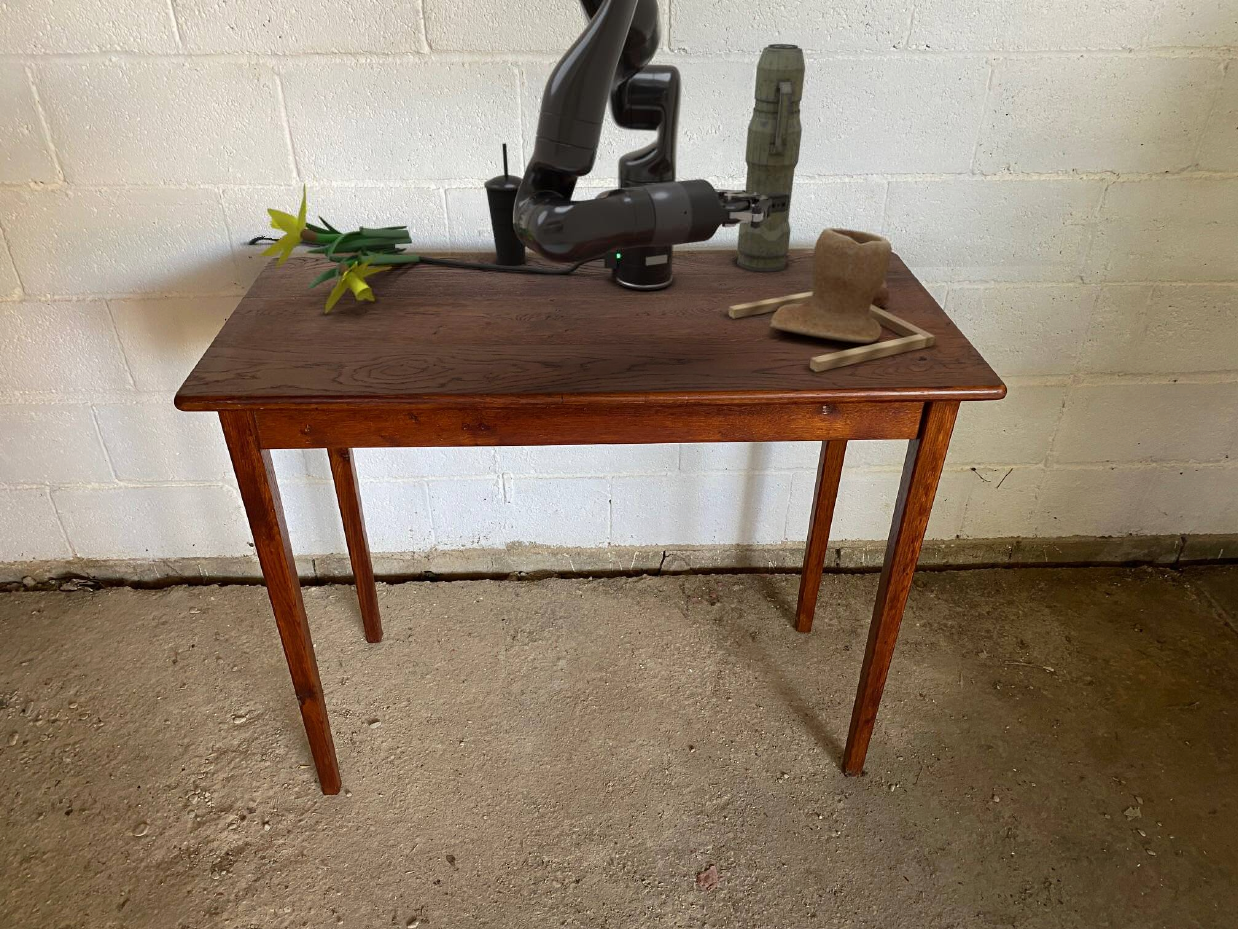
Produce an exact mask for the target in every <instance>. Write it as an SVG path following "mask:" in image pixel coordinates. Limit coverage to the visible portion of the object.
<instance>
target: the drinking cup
mask: <svg viewBox="0 0 1238 929" xmlns="http://www.w3.org/2000/svg"><path fill="white" fill-rule="evenodd" d="M501 145H502V146H501V147H502V162H503V174H501V175H497V176H495V177H492V178H491V179H489V180H486V181H485V182H484V183H483V187H484V188H485V190H486V196H487V204H488V211H489V215H490V221H491V227H492V234H493V239H494V246H495V253H496V259H497V263H498V265H501V266H519V265H520V266H521V265H522V264H524V263H525V262H526V246H524V245H523V244H522V243H521V242H520V240H519V239H518V237H517V235H516V233H515V230H514V224H513V212H514V204H515V200H516V196H517V193H518V190H519V187H520V184H521V181H522V179H523V177H519V176H517V175H513V174H509V164H508V150H507V149H508V148H507V147H508V146H507V143H506V142H505V143H501Z"/></svg>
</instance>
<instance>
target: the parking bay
mask: <svg viewBox="0 0 1238 929" xmlns="http://www.w3.org/2000/svg"><path fill="white" fill-rule="evenodd" d="M812 294H813V290H811V291H807V292H801V293H796V294H795V293H794V294H790V295H785V296H779V297H774V298H769V299H763V300H762V299H761V300H757V301H752V302H747V303H741V304H736V305H731V306H729V307H728V316H729V317H730V318H731V319H740V318H744V317H749V316H750V317H751V316H755V315H760V314H766V313H772V312H776V311H777V310H778V309H779V308H780V307H782V306H785V305H791V304H804V303H806V302H808V301H809V300H810V299H811V297H812ZM869 315H870V317H871V318H872V319H874V320H875V321H877V322H878V323H879V324H880V326H883V327H884V328H887V329H888V330H891V331H893V332H894V333H896V334H898V335H900V336H902V337H900V338H896V339H895V338H894V339H891V340H886V341H882V342H878V343H873V344H868V345H864V346H859V347H854V348H849V349H845V350H841V351H837V352H832V353H827V354H823V355H819V356H818V355H817V356H814V357H811V358H810V363H809V369H811V371H814V372H815V373H818V372H823V371H828V370H833V369H836V368H840V367H845V366H849V365H853V364H858V363H862V362H866V361H867V362H868V361H872V360H875V359H880V358H884V357H889V356H894V355H897V354H903V353H906V352H907V353H908V352H913V351H916V350H921V349H924V348H929V347H933V346H934V341H935V335H933V334H932V333H929V332H927V331H926V330H924V329H921V328H920V327H917V326H915V325H913V324H911V323H909V322H908V321H906V320H903V319H901V317H897V316H896V315H894V314H891V313H890V312H887V311H885V310H884V309H881V308H880V307H876V306H874V305H872V304H871V306H870V310H869Z"/></svg>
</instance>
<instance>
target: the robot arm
mask: <svg viewBox="0 0 1238 929" xmlns="http://www.w3.org/2000/svg"><path fill="white" fill-rule="evenodd" d="M577 1H578V3H579V6H580V9H581V11H582V16H583V20H584V23H585V28H584V30H582V32H581V33H580V35H579V36H578V37H577V38H576V40H574V42H573V43H572V44H571V45H570V46H569V48H568V49H567V50H566V51H565V52H564V54H563V55H562V57H561V58H560V60H558V62H557V63H556V64H555V66H554V68H553V69H552V70H551V73H550V75H549V76H548V79H547V81H546V84H545V87H544V90H543V92H542V97H541V101H540V108H539V114H538V119H537V125H536V126H537V127H536V131H535V137H534V138H535V139H534V144H533V146H534V147H533V151H532V154H531V157H530V158H529V161H528V163H527V166H526V168H525V171H524V173H523V176H522V181H521V184H520V187H519V190H518V193H517V196H516V200H515V204H514V212H513V224H514V230H515V233H516V235H517V237H518V239H519V240H520V242H521V243H522V244H523V245H524V246H525V248H528V249H529V250H530V251H532V252H534V253H535V254H537V255H538V256H539V257H541V258H543V259H544V260H546V261H548V262H551V263H556V264H573V265H571V267H568V268H564V269H542V268H537V267H529V266H518V265H514V266H506V265H501V264H488V263H487V264H486V263H475V262H466V261H459V260H457V261H456V260H448V259H442V258H434V257H427V256H420V255H419V260H420V261H421V262H423V263H430V264H439V265H444V266H453V267H461V268H469V269H470V268H471V269H480V270H481V269H482V270H490V271H491V270H493V271H505V272H521V273H532V274H540V275H553V276H554V275H555V276H556V275H557V276H560V275H567V274H571V273H573V272H575V271H577V270H578V269H579V268H580V267H581V266H582V265H585V264H587V263H590V262H594V261H599V260H603V267H604V268H603V269H611V273H612V274H611V280H612V281H613V282H616V283H617V284H618V285H620V286H621V287H624V288H627V289H631V290H635V291H654V290H655V291H656V290H660V289H664V288H666V287H669V286H670V285H671V284H672V283H673V258H674V257H673V256H674V246H676V245H678V246H679V245H686V244H694V243H701V242H702V243H703V242H707V241H709V240H710V239H712V238H713V237H714V235H715V234H716V232H717V231H718V229H719V228H720V226H721V227H722V228H732V227H736V226H737V225H740V224H741V223H748V222H749V224H750V227H752V228H755V229H756V228H760V227H761V226H762V225H764V224H765V223H766V222H767V221H769V220H770V216H771V213H777V212H785V211H787V210H788V205H789V195H787V194H784V193H781V192H779V193H769V194H759V193H757V192H754V193H748V191H746V189H721V188H715V186H713V184H712V183H711V182H709V181H708V180H706V179H703V178H697V179H686V180H677V160H678V138H679V137H678V136H679V126H680V115H681V106H682V93H683V92H682V90H683V87H682V74H681V73H680V70H679V68H678V67H677V66H675V65H671V64H652V63H651V64H650V62H651V61H652V59H653V58H655V55H656V53H657V52H658V49H659V48H660V44H661V40H662V31H663V30H662V23H661V22H662V21H661V15H660V9H659V3H658V0H577ZM607 106H608V107H607ZM607 108H608V112H609V115H610V118H611V120H612V123H613V124H614V126H616V127H617V128H618V129H621V130H624V131H637V132H638V131H639V132H656V134H657V135H656V138H655V139H654V140H653V141H652V142H651V143H649V144H647V145H646V146H644V147H642V148H639V149H635V150H632V151H630V152H627V153H624V154H623V155H621V156H620V157H619V159H618V161H617V188H613V189H606V190H604V191H601V192H600V193H598V194H597V195H596V196H595V197H594V198H590V199H585V200H584V199H582V200H574V199H573V200H572V198H573V194H574V191H575V188H576V186H577V182H578V180H579V178H582V177H585V176H588V175H589V174H590V173H591V172H592V171H593V169H594V166H595V163H596V159H597V156H598V155H597V154H598V149H599V144H600V140H601V135H602V130H603V124H604V119H605V114H606V111H607V110H606V109H607ZM261 236H262V235H261ZM256 237H257V236H256ZM264 237H265V236H264ZM264 237H263V236H262V237H257V238H255V237H253V238H254V239H253V238H251V240H250V241H249V242H248V246H254V245H255V244H256V243H257V242H259V241H271V242H277V241H278V240H279V239H272V238H264ZM330 244H332V243H316V242H309V241H304V240H303V239H302V241H301V242H300V243H299V244H298V245H308V246H318V247H324V246H327V245H330ZM370 252H374V251H370ZM391 254H392V255H400V254H403V252H399V253H391ZM406 254H407V255H409V254H408V253H406Z"/></svg>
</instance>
